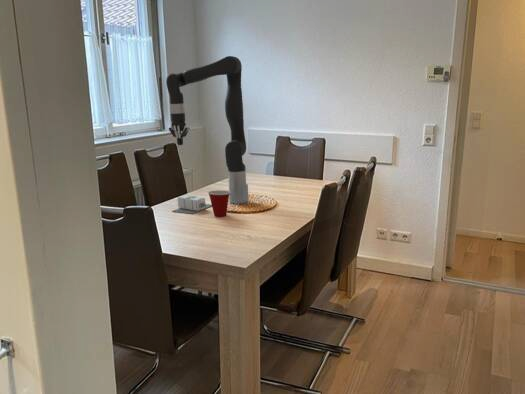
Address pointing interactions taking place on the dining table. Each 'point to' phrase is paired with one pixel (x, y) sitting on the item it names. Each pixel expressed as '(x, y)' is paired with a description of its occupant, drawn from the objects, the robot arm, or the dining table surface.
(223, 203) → the plastic cup
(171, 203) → the dining table surface
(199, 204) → the syrup box
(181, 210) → the charcoal placemat
